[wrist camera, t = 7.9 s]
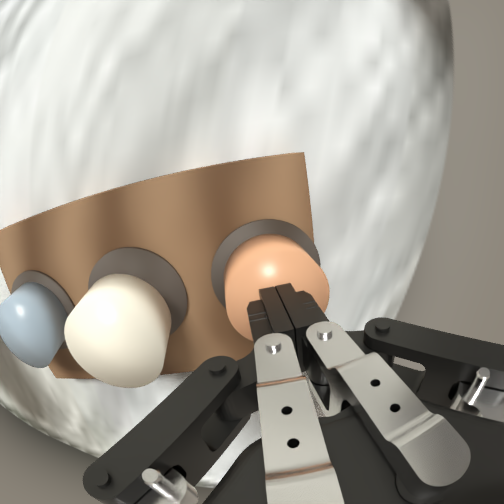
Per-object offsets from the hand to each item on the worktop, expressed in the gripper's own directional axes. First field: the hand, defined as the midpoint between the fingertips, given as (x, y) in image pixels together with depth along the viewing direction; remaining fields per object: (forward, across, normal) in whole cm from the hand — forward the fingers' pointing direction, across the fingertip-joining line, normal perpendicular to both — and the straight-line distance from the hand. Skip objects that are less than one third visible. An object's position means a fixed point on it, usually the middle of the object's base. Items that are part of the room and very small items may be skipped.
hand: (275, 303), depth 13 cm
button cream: (+1, +8, 0) cm, 8 cm away
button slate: (+3, +16, 0) cm, 16 cm away
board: (+6, +8, 0) cm, 10 cm away
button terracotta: (+3, 0, 0) cm, 3 cm away
